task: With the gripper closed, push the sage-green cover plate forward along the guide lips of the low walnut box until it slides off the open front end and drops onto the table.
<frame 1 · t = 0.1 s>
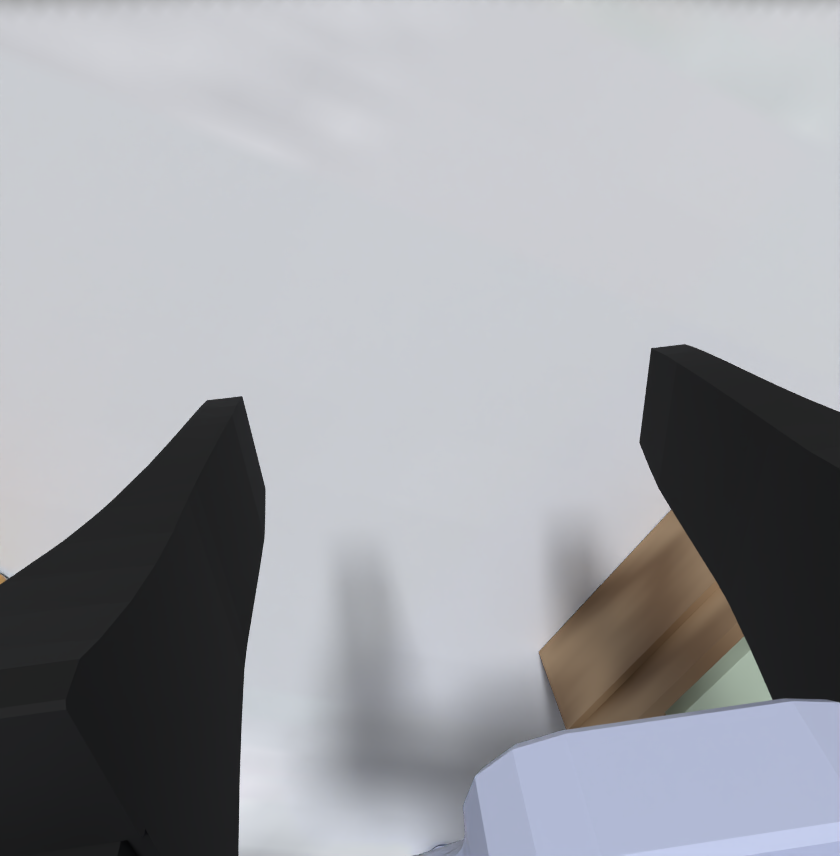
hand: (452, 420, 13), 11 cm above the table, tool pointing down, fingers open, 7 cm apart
cover plate: (809, 674, 25), point 4 cm above the table, touching walnut box
walnut box: (725, 628, 29), on the table
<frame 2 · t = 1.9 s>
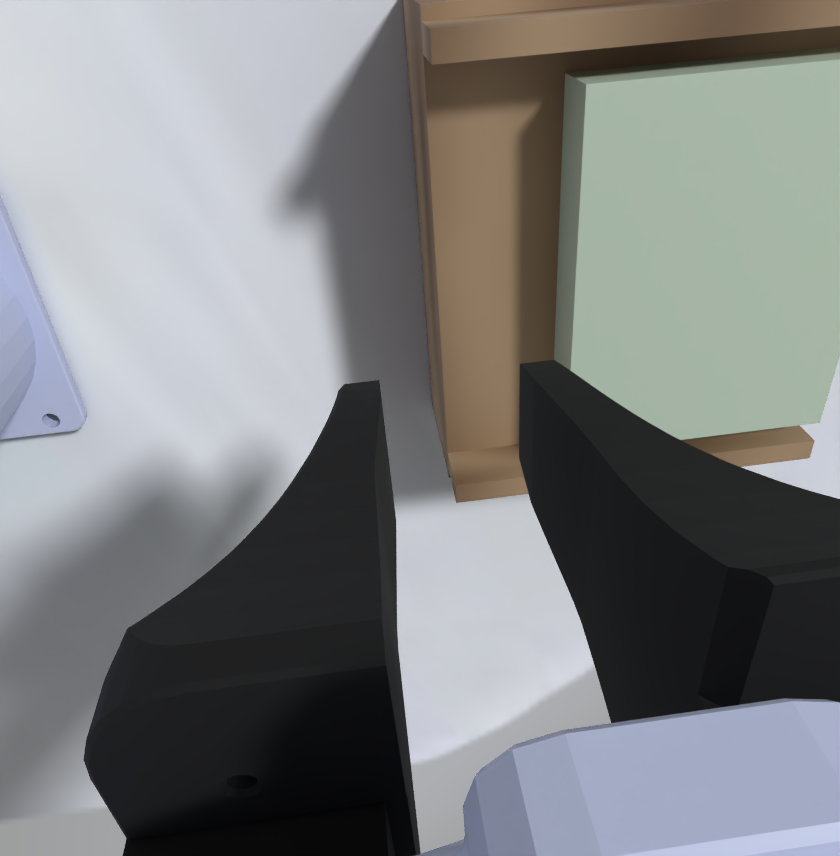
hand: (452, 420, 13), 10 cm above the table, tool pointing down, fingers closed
cover plate: (694, 257, 18), point 4 cm above the table, touching walnut box
walnut box: (587, 214, 21), on the table
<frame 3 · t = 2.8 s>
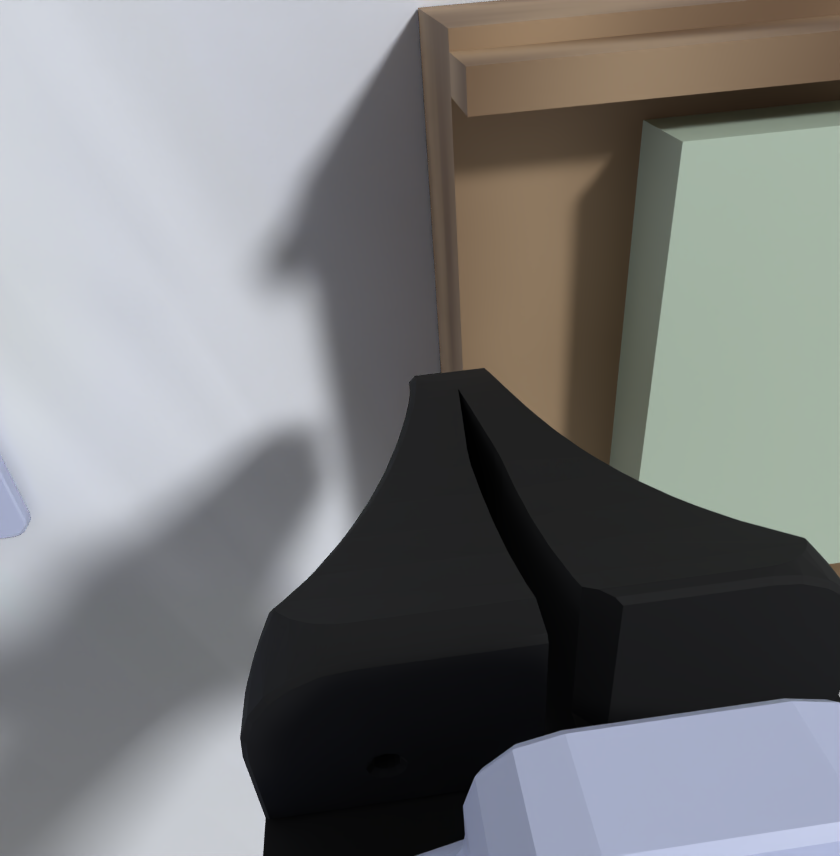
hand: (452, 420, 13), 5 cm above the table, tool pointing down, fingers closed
cover plate: (795, 349, 14), point 4 cm above the table, touching walnut box
walnut box: (643, 278, 17), on the table
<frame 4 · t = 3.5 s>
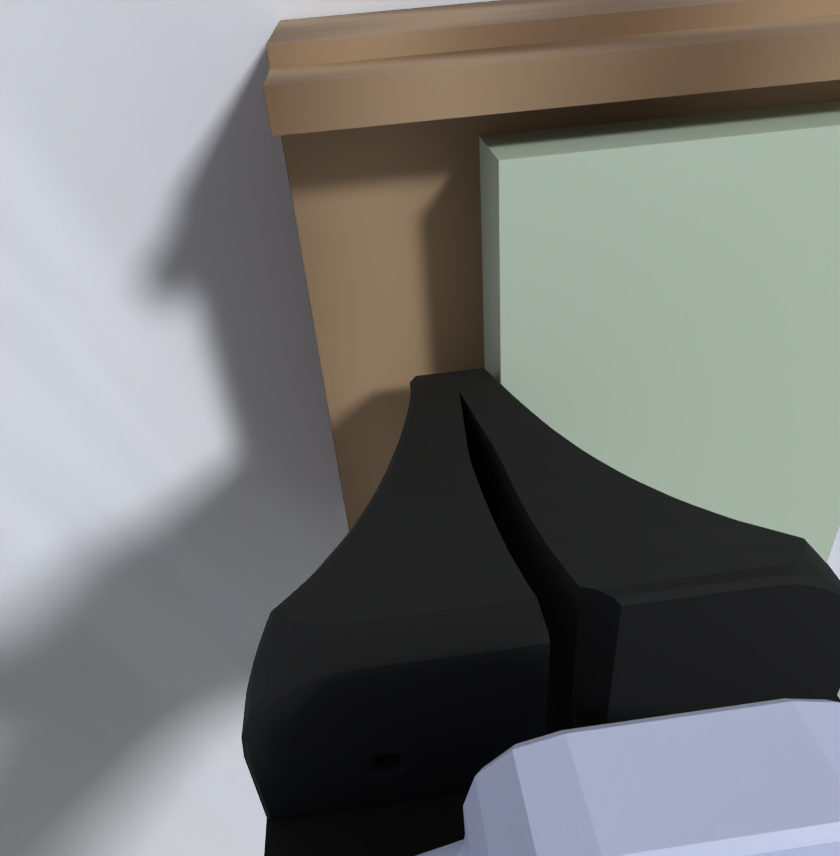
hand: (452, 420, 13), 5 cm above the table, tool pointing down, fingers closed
cover plate: (664, 364, 14), point 4 cm above the table, touching gripper, walnut box
walnut box: (536, 290, 17), on the table
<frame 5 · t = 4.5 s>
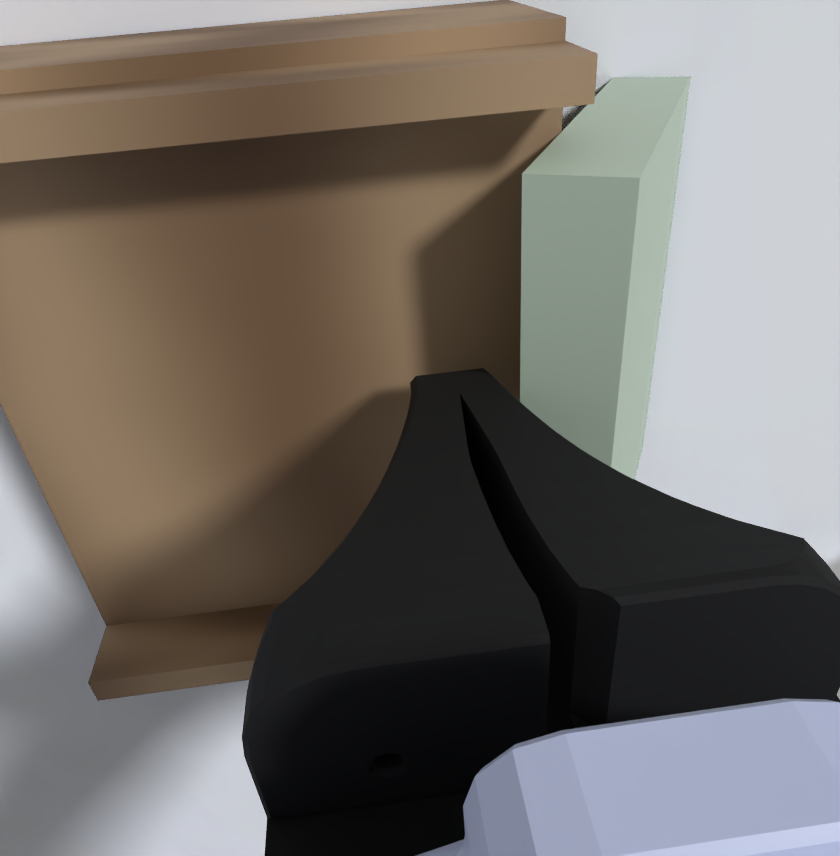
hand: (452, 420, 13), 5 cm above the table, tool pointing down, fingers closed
cover plate: (565, 351, 15), point 3 cm above the table, tilted 62°, touching gripper
walnut box: (297, 317, 17), on the table
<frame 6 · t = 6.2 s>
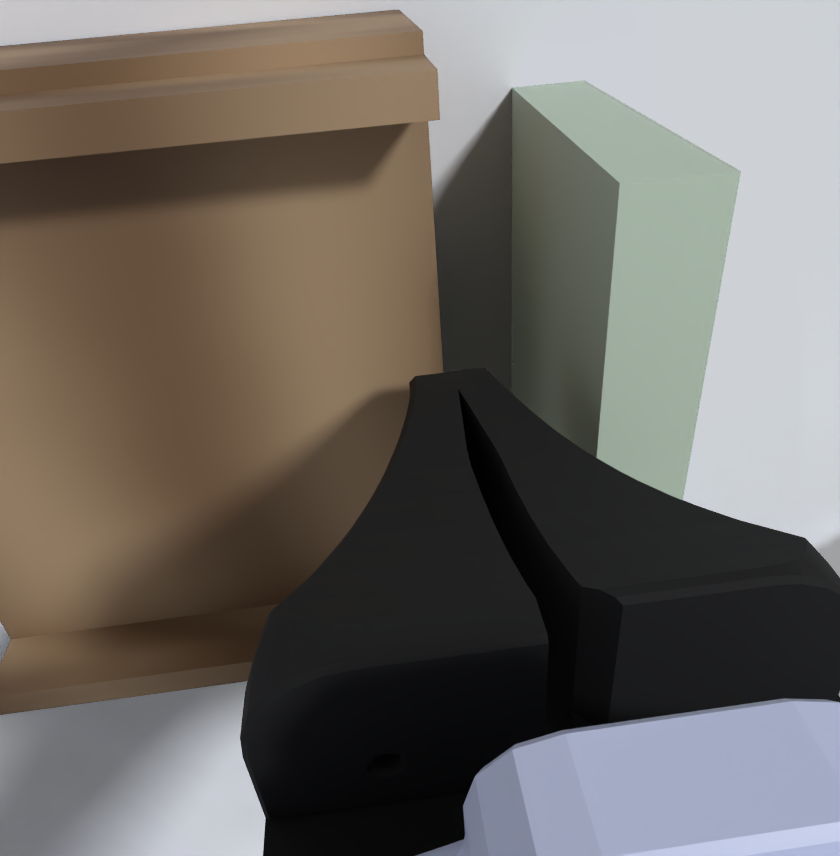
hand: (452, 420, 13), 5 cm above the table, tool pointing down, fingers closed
cover plate: (544, 365, 14), point 3 cm above the table, tilted 89°
walnut box: (207, 327, 17), on the table
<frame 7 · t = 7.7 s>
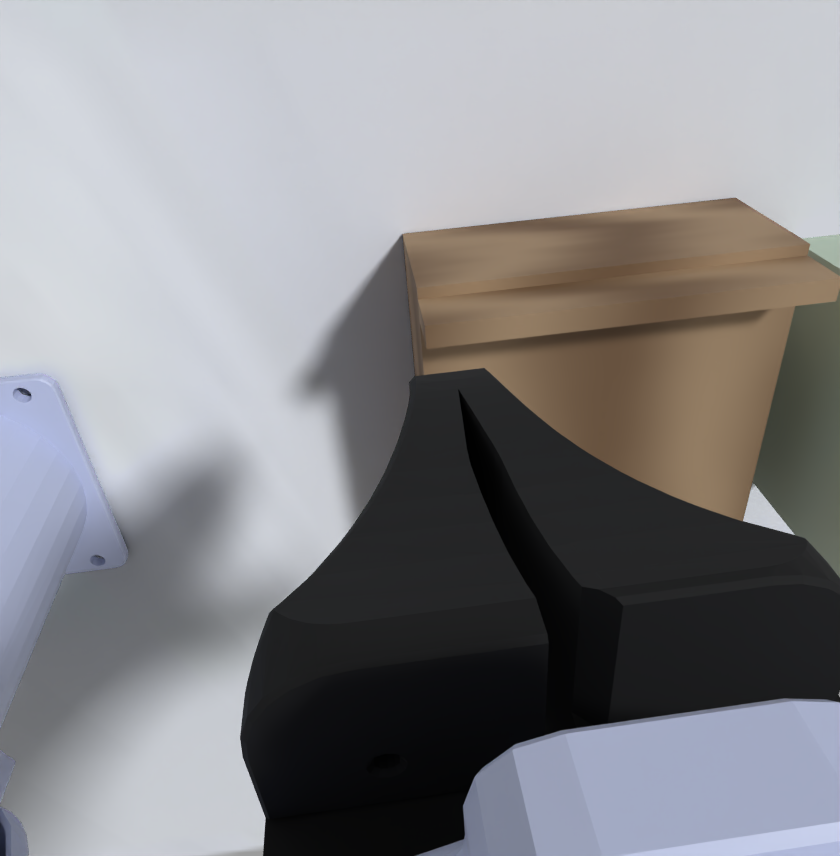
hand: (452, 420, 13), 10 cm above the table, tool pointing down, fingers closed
cover plate: (821, 419, 22), point 3 cm above the table, tilted 90°
walnut box: (562, 389, 24), on the table
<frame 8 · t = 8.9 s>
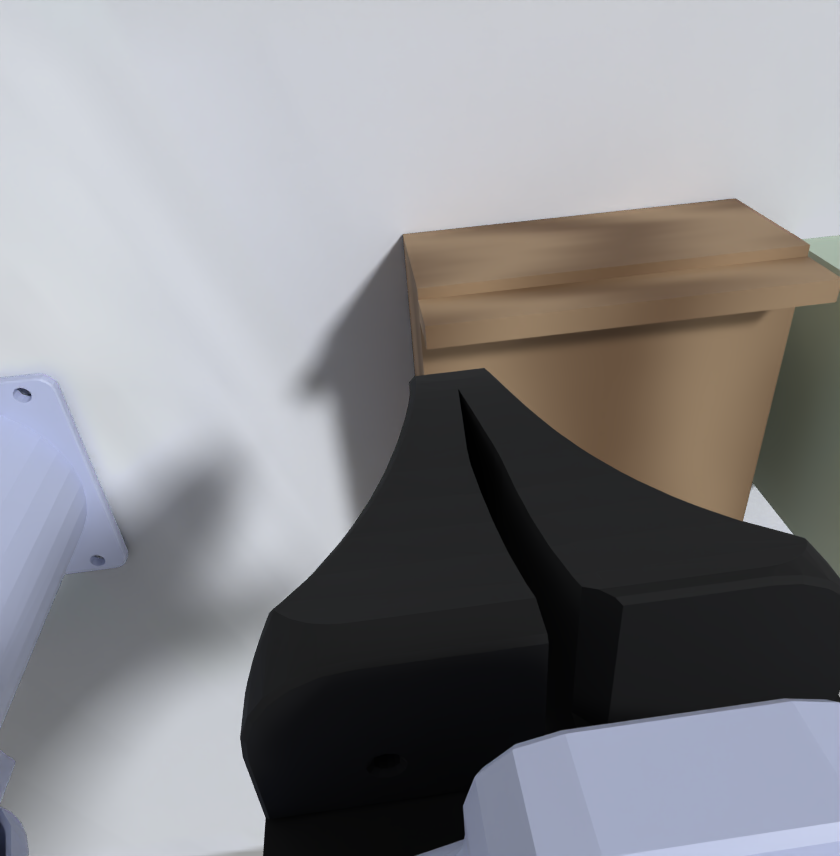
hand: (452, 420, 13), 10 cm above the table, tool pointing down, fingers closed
cover plate: (820, 420, 22), point 3 cm above the table, tilted 90°
walnut box: (562, 389, 24), on the table
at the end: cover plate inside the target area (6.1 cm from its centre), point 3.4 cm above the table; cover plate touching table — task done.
